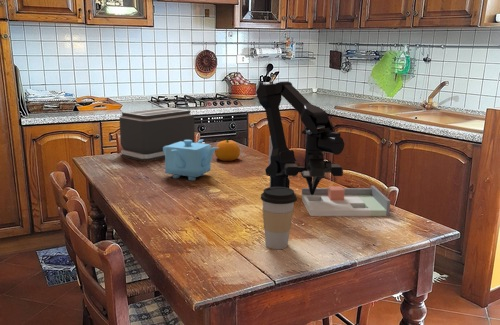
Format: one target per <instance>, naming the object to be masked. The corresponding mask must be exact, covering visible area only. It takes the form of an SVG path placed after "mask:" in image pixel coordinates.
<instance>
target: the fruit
mask: <svg viewBox="0 0 500 325" xmlns="http://www.w3.org/2000/svg"><path fill="white" fill-rule="evenodd" d="M215 147H218V149H216V150H215V151H214V155H215V157H216V159H218V160H220V161H224V162H231V161H235V160H237V159H238V158H240V154H241V149H240V147H239V145H238V143H237V142H235V141H233V140H229V139H228V138H226V139H225V140H221V141H219V142H218V143H217V144H216V146H215Z"/></svg>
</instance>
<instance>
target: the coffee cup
mask: <svg viewBox="0 0 500 325" xmlns="http://www.w3.org/2000/svg"><path fill="white" fill-rule="evenodd" d="M260 199H261V201H262V218H263V220H262V221H263V228H264V238H265V246H266V248H269V249H272V250H284V249H286V248H287V247H288V245H289V239H290V232H291V229H292V222H293V215H294V205H295V204H294V203H295V202H297V201H298V198H297V194H296V193H295V190H294V189H292V188H290V187H289V188H286V187H270V186H269V187H267V188H264V190H263V192H261V194H260Z"/></svg>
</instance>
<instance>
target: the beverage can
mask: <svg viewBox="0 0 500 325" xmlns="http://www.w3.org/2000/svg"><path fill="white" fill-rule="evenodd" d="M268 140H269V143H268V144H269V147H268V148H269V149H268V166H269V165H270V164H271V159H270V157H271V154H272V151H273V146H272V141H271V136H270V135H269V139H268Z"/></svg>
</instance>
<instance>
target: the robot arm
mask: <svg viewBox="0 0 500 325" xmlns="http://www.w3.org/2000/svg"><path fill="white" fill-rule="evenodd" d="M256 96H257V99H258V103H259V105H261V106H262V108H263V109H264V110H265V116H266V120H267V125H268V129H269V134H270V135H269V137H270V136H271V141H272V146H273V151H272V154H271V157H270V159H271V164H270V165H269V164H268V165H267V167H266V168H265V170H264V171H265V176H267V177H269V187H286V188H290V181H291V180H290V178H289V177H291V176H292V177H295V176H297V175H298V174H299V173H300V175H301V177H302V178H303V179H305V180H306V183H307V186H308V187H307V188H309V191H310V194H311V195H314V192H315V190H316V188H318V185H319V184H320V182H321V181H322V179H326V176H325V175H326V173H330V174H331V175H332V176H334V177H343V175H344V168H343V167H342V166H341V165H340V164H339V163H332V160H324V153H328V154H331V155H335V156H338V155H340V154H342V153H343V151H344V148H345V141H344V138H343V137H341V132H335V129H334V127H333V126H332V123H331V121H330V119H329V114H328V113H327V111H325V110H324V109H323V108H321V107H319V106H317V105H314V104H313V103H311V102H310V101H308V99H307V98H306V97H305V96H304V95H302V94H301V92H300V91H298V90H297V89H296V87H295V86H293V83H292V82H291V81H284V80H283V81H278V82H275V83H265V84H264V83H261V84H260V85H259V86H258V87H257V90H256ZM282 97H283V98H284V100H286V101H287V102H288V104H289V105H290V106H291V107H293V109H294V110H296V111H297V113H298V114H299V116H300V121H301V122H302V124H303V125H304V127H305V129H303V130H302V131H301V134H302V135H305V136H306V137H305V155H304V166H298V165H297V163H296V162H297V160H296V157H295V151H294V149H290V148H289V146H287V142H286V136H285V130H284V126H283V125H284V124H283V120H282V116H281V110H280V105H281V103H282V102H281V101H282V99H283V98H282Z"/></svg>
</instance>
